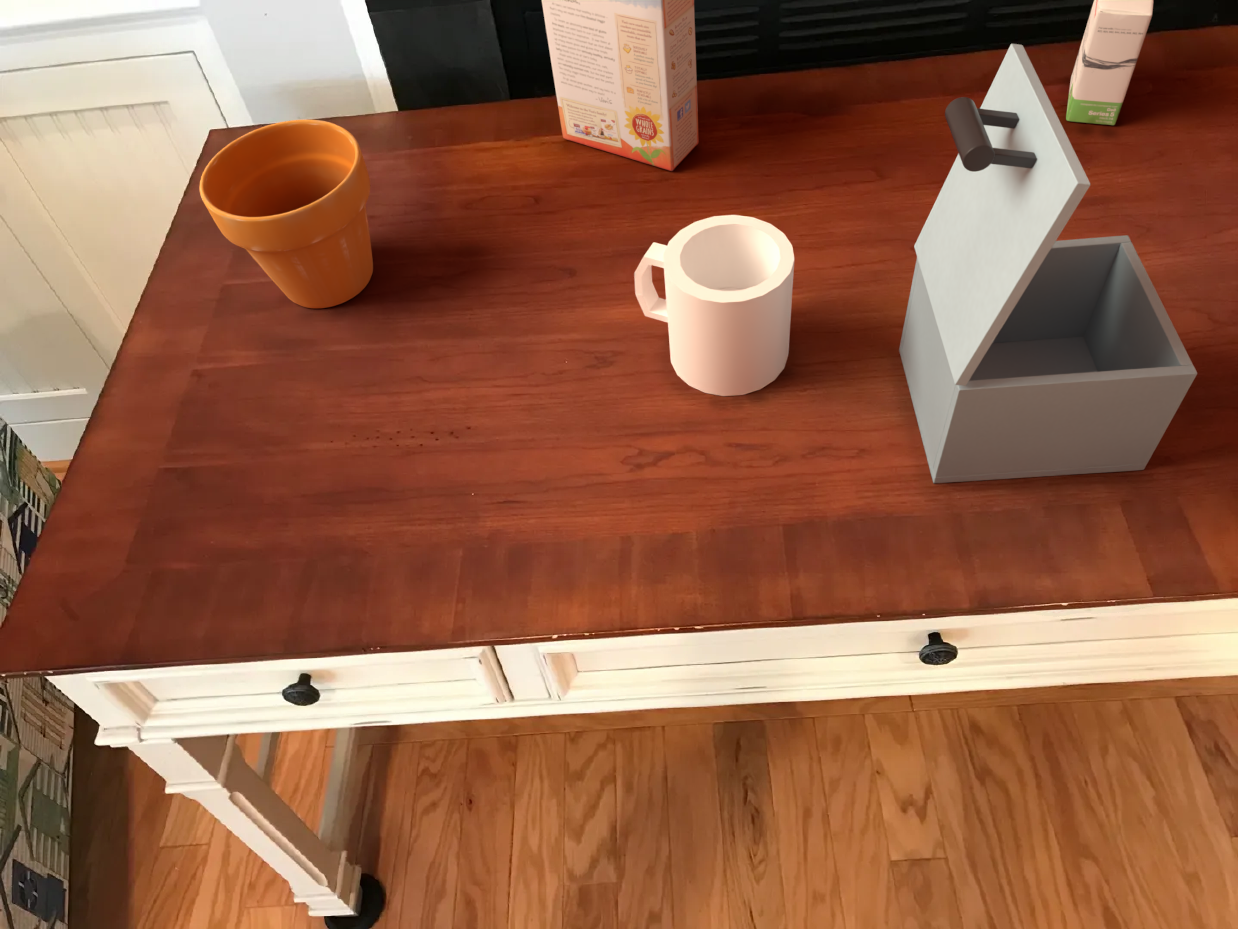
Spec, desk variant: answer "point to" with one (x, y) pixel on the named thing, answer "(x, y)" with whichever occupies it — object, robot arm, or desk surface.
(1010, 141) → the freezer lid
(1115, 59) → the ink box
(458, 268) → the desk surface
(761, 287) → the mug
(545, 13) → the cracker box
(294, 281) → the flower pot
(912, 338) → the chest
